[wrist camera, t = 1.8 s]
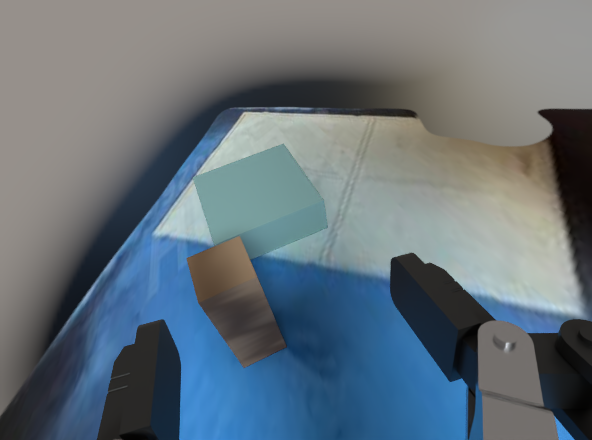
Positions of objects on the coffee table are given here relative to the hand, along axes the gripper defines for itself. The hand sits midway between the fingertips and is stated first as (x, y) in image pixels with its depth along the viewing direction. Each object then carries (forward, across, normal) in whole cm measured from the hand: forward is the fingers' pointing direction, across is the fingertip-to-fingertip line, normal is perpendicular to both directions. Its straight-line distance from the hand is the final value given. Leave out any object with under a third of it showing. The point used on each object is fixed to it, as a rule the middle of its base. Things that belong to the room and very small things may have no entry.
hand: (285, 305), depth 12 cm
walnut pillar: (+16, +2, +19) cm, 25 cm away
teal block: (+32, -2, +14) cm, 35 cm away
